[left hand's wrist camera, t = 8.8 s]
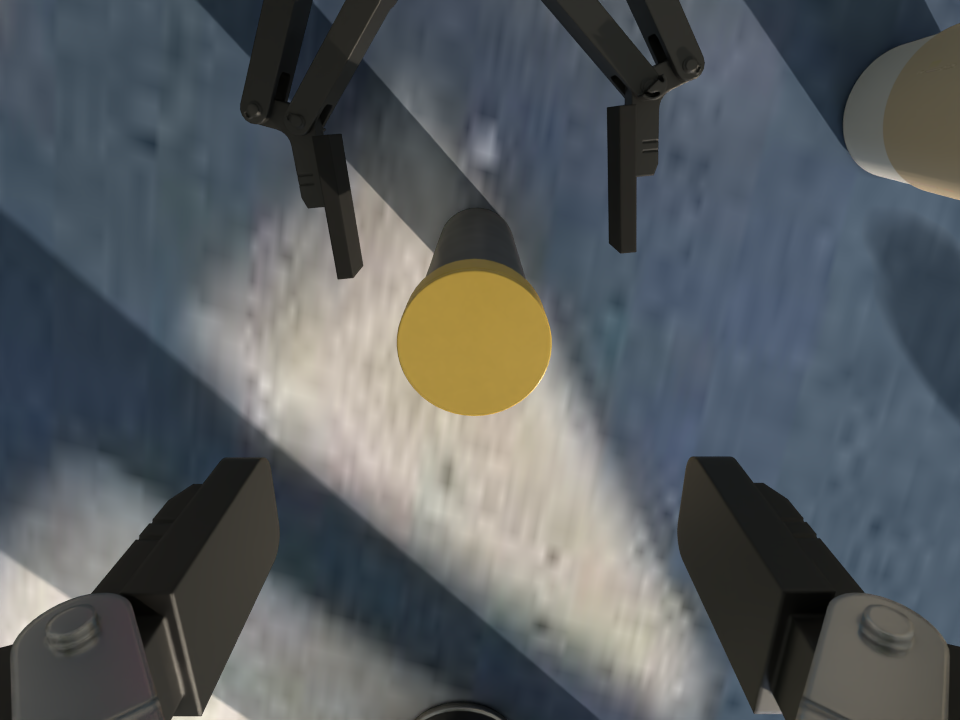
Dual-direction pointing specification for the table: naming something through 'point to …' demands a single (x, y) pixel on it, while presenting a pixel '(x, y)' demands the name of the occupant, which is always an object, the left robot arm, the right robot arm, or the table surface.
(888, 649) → the left robot arm
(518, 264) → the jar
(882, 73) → the coffee cup
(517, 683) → the table surface
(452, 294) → the lid
